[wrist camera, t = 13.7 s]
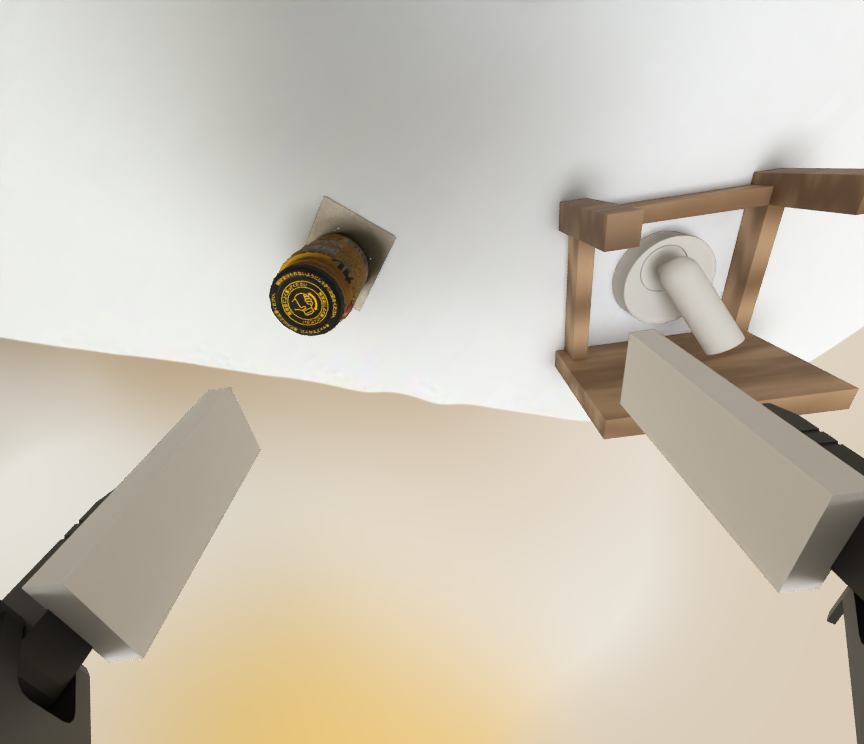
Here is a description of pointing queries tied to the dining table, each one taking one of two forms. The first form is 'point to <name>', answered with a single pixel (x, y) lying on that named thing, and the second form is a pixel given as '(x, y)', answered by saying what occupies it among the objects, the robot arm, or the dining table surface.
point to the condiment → (329, 271)
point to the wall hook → (676, 288)
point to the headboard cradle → (752, 359)
